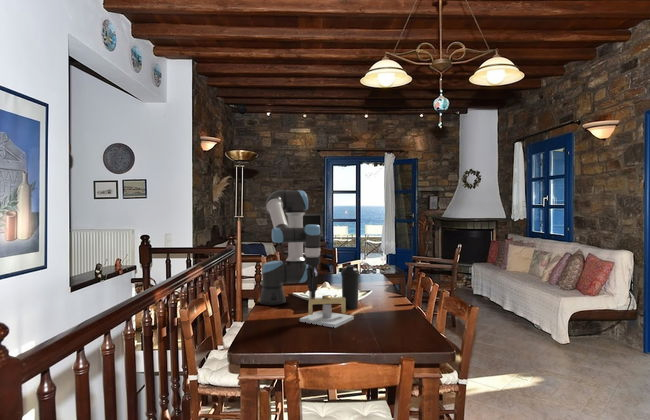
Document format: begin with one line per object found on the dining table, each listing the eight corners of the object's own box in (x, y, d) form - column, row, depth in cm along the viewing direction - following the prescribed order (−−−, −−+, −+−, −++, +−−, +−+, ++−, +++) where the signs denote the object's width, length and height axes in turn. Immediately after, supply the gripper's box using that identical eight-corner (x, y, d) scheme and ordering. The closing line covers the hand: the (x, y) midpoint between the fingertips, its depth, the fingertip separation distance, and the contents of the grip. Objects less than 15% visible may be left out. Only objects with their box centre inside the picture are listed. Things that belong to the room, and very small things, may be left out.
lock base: (299, 321, 214) (299, 305, 214) (319, 313, 230) (319, 298, 229) (335, 327, 204) (335, 310, 204) (353, 319, 219) (353, 302, 219)
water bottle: (359, 305, 247) (359, 264, 247) (359, 309, 237) (359, 267, 237) (341, 304, 248) (341, 264, 248) (340, 309, 238) (340, 266, 238)
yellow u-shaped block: (309, 315, 213) (309, 298, 212) (308, 312, 217) (308, 295, 217) (346, 313, 216) (346, 296, 215) (343, 311, 220) (344, 294, 220)
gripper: (323, 257, 212) (323, 306, 212) (315, 254, 224) (315, 300, 224) (308, 258, 209) (308, 307, 210) (301, 254, 221) (301, 301, 222)
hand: (312, 303), depth 217 cm, fingers closed
